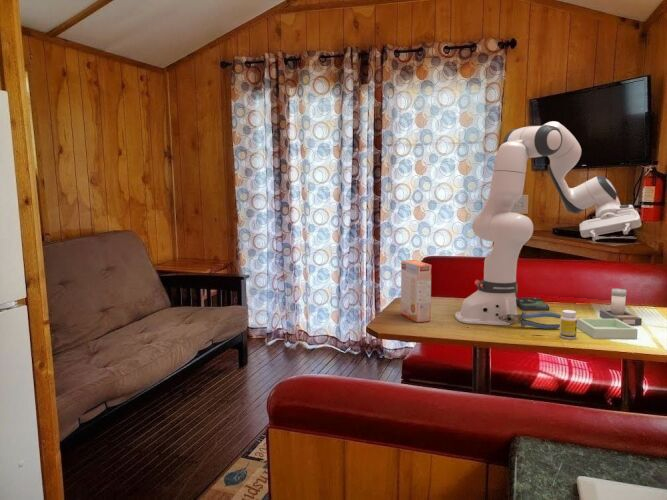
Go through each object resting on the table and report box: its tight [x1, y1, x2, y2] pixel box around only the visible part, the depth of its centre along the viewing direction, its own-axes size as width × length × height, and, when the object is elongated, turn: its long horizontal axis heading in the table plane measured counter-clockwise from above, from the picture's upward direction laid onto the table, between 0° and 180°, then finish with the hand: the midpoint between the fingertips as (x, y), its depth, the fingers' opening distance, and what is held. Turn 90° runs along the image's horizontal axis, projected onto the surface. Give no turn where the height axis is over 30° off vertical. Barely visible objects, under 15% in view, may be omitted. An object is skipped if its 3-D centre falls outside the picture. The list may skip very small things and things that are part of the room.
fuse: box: [610, 288, 627, 315], centre depth 179 cm, size 5×5×11 cm
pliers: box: [498, 310, 562, 330], centre depth 169 cm, size 20×2×6 cm, turn 81°
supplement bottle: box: [559, 309, 578, 340], centre depth 159 cm, size 5×5×8 cm
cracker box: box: [400, 259, 432, 323], centre depth 184 cm, size 14×6×21 cm, turn 16°
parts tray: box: [576, 317, 639, 340], centre depth 163 cm, size 13×13×3 cm
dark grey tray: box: [599, 309, 643, 327], centre depth 178 cm, size 8×12×3 cm
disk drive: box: [516, 296, 551, 312], centre depth 201 cm, size 10×3×15 cm
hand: (610, 235), depth 181 cm, fingers open, 8 cm apart
